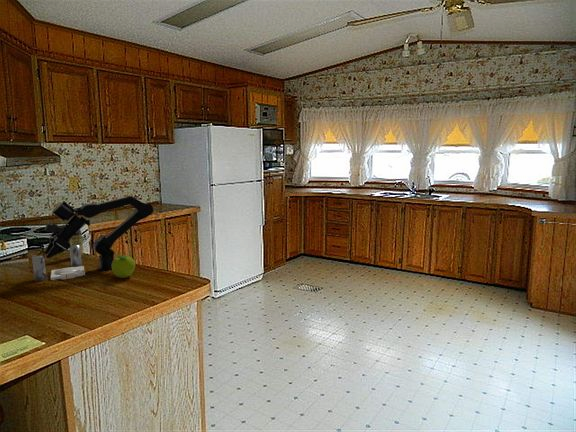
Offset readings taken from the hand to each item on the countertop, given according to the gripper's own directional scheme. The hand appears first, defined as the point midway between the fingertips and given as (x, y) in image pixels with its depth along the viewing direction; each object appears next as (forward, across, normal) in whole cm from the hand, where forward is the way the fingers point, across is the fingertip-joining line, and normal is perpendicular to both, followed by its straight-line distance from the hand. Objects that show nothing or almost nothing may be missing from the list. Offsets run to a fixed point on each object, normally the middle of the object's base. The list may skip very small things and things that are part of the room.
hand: (45, 255), depth 173 cm
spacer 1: (+9, 0, +5) cm, 10 cm away
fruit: (-12, +20, +26) cm, 35 cm away
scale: (+1, -1, +13) cm, 13 cm away
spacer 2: (-2, -15, +16) cm, 22 cm away
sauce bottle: (-4, -34, +19) cm, 39 cm away
